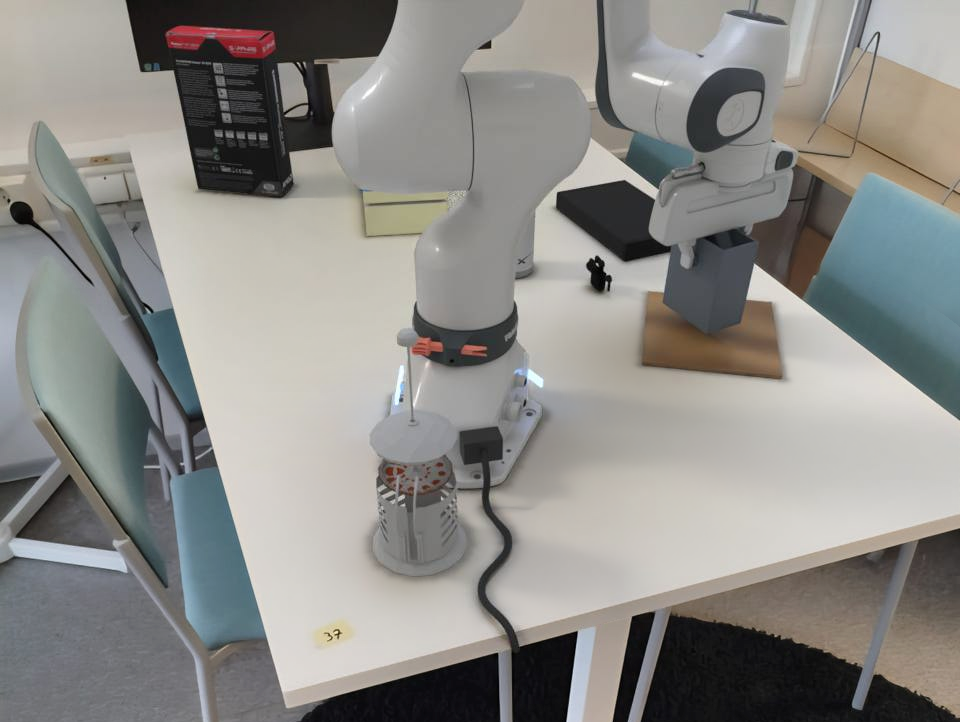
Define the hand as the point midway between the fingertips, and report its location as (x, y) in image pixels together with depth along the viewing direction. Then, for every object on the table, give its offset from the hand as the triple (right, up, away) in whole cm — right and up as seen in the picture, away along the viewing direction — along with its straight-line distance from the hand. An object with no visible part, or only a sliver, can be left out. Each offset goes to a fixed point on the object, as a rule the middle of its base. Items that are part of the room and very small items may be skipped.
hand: (710, 259), depth 115 cm
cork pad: (+2, -9, +6) cm, 11 cm away
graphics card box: (-74, +24, +46) cm, 91 cm away
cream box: (-46, +26, +48) cm, 72 cm away
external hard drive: (-6, +14, +34) cm, 37 cm away
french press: (-37, -36, -27) cm, 58 cm away
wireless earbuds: (-13, -1, +16) cm, 21 cm away
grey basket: (+2, -4, -2) cm, 5 cm away
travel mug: (-25, +3, +21) cm, 33 cm away
